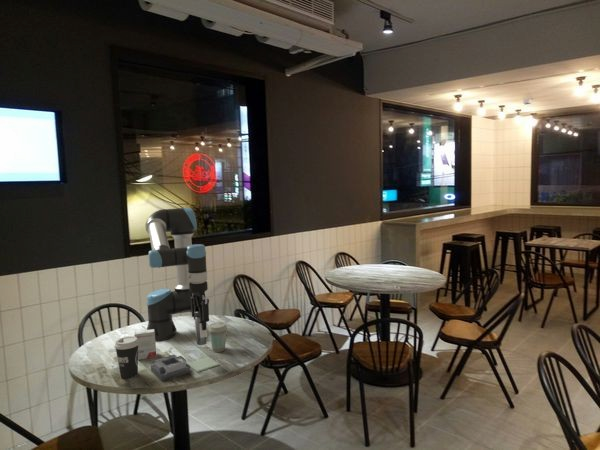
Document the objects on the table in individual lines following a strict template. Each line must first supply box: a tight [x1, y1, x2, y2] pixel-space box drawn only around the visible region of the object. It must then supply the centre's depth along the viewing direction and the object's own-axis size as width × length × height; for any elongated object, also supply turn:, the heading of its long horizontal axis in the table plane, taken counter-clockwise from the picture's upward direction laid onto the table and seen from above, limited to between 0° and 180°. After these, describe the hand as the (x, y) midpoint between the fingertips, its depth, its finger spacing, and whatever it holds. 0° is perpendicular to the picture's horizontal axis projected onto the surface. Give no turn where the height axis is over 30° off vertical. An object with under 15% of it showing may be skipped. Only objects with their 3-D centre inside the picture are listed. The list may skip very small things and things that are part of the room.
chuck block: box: [150, 354, 192, 382], centre depth 177 cm, size 12×12×4 cm
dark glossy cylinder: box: [194, 310, 208, 346], centre depth 181 cm, size 4×4×14 cm
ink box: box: [133, 329, 157, 361], centre depth 193 cm, size 9×5×12 cm, turn 108°
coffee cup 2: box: [207, 321, 228, 353], centre depth 198 cm, size 8×8×12 cm
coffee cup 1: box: [113, 335, 139, 380], centre depth 174 cm, size 10×10×15 cm
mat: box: [186, 356, 220, 373], centre depth 183 cm, size 10×10×1 cm
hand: (201, 335), depth 181 cm, fingers closed on dark glossy cylinder, 4 cm apart
